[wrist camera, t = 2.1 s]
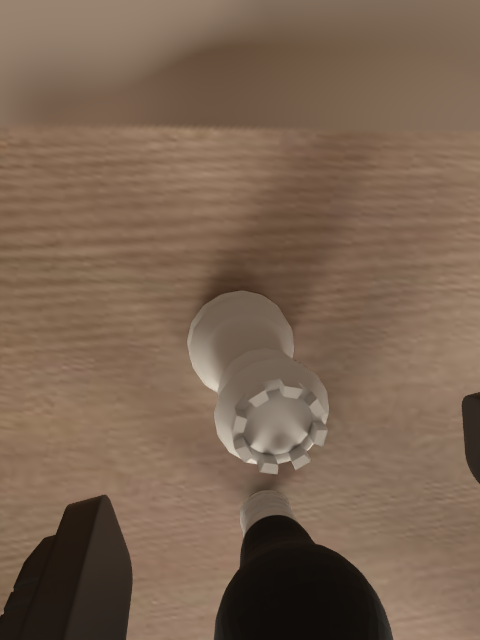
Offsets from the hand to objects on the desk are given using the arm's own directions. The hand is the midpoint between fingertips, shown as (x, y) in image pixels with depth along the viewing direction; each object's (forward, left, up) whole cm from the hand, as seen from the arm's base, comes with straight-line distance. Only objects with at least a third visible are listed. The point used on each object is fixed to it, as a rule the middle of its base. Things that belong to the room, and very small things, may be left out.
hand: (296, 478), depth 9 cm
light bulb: (+8, -3, -10) cm, 13 cm away
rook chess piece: (0, 0, -10) cm, 10 cm away
